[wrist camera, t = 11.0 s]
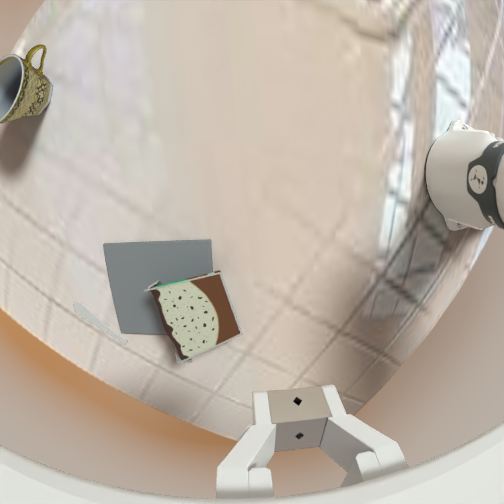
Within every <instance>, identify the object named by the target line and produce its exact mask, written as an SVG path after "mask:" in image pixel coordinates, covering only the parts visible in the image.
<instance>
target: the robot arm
mask: <svg viewBox="0 0 504 504" xmlns="http://www.w3.org/2000/svg"><path fill="white" fill-rule="evenodd" d="M426 182H427V188H428V192H429V195H430V197H431V200H432V202H433V203H434V205H435V207H436V208H437V209H438V210H439V211H440V212H441V213H442V215H443V216H444V219H445V222H446V225H447V227H448V229H449V230H452V231H457V230H460V229H464V228H468V227H472V228H475V229H478V230H483V229H484V228H488V227H490V226H492V225H495V226H497V227H498V228H501V229H504V140H503V139H502V138H499V137H495V135H494V134H493V133H489V132H488V131H483V130H475V129H473V128H472V127H470V126H468V125H467V124H465V123H463V122H462V121H460V120H454V121H453V122H452V123H451V125H450V127H449V129H448V131H447V132H446V133H445V134H443V135H442V136H440V137H439V138H438V139H437V140H436V141H435V142H434V144H433V146H432V147H431V150H430V152H429V155H428V159H427V164H426ZM312 447H320V448H321V449H322V450H323V451H324V452H325V453H326V454H327V455H328V456H329V457H330V458H332V459H333V460H334V461H335V462H336V463H337V464H338V465H339V466H340V467H342V468H343V469H344V470H345V471H346V472H347V475H346V477H345V479H344V481H343V482H342V484H341V486H340V487H339V488H334V489H329V490H323V491H318V492H312V493H305V494H298V495H290V496H280V497H274V494H273V486H272V479H271V471H270V470H269V469H267V468H266V466H267V465H268V463H269V461H270V459H271V458H272V456H273V454H274V452H277V451H287V450H294V449H304V448H312ZM0 504H504V421H503V422H501V423H500V424H498V425H497V426H495V427H493V428H492V429H490V430H488V431H487V432H485V433H483V434H481V435H479V436H478V437H476V438H474V439H472V440H470V441H468V442H467V443H464V444H463V445H460V446H459V447H456V448H454V449H452V450H450V451H448V452H446V453H444V454H441V455H439V456H437V457H434V458H432V459H430V460H428V461H425V462H422V463H420V464H417V465H415V466H412V467H409V466H408V464H407V462H406V460H405V458H404V456H403V454H402V452H401V450H400V448H399V446H398V444H397V442H395V441H393V440H392V439H390V438H388V437H387V436H385V435H383V434H382V433H380V432H378V431H377V430H375V429H373V428H372V427H370V426H369V425H367V424H365V423H364V422H362V421H361V420H359V419H357V418H356V417H354V416H353V415H351V414H346V412H345V409H344V407H343V404H342V402H341V399H340V397H339V395H338V392H337V390H336V387H335V386H334V385H333V384H331V385H324V386H316V387H308V388H299V389H291V390H272V391H253V425H251V426H250V427H249V429H248V430H247V431H246V432H245V434H244V435H243V436H242V438H241V439H240V440H239V441H238V443H237V444H236V445H235V447H234V448H233V449H232V450H231V451H230V453H229V454H228V455H227V456H226V458H225V459H224V460H223V461H222V462H221V464H220V465H219V466H218V467H217V490H216V499H208V498H190V497H178V496H169V495H161V494H154V493H147V492H141V491H135V490H130V489H125V488H120V487H115V486H111V485H107V484H103V483H99V482H95V481H92V480H88V479H85V478H81V477H78V476H75V475H72V474H69V473H65V472H63V471H60V470H57V469H55V468H52V467H49V466H46V465H44V464H42V463H39V462H36V461H34V460H32V459H30V458H27V457H25V456H23V455H21V454H18V453H16V452H14V451H12V450H10V449H8V448H6V447H4V446H2V445H0Z"/></svg>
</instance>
